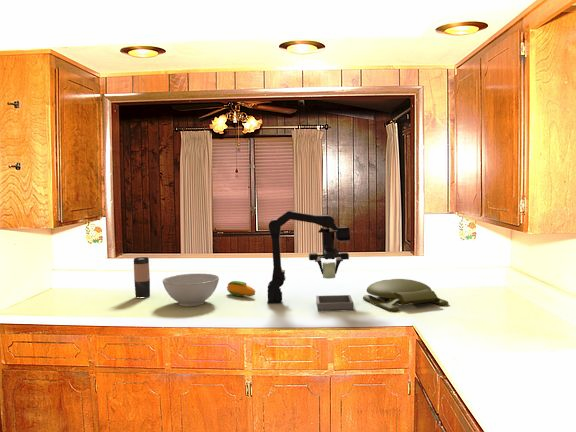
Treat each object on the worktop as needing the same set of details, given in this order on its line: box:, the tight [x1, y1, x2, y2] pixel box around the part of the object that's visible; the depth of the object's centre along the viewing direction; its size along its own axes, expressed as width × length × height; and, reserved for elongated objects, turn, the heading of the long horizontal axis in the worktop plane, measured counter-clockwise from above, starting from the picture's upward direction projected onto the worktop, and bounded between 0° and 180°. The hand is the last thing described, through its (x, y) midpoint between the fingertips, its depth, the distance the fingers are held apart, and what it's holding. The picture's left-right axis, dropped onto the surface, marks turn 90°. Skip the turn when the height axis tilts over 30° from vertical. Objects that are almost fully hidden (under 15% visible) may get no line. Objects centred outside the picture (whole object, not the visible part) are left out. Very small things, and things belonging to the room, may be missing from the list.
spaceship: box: [362, 278, 449, 313], centre depth 273 cm, size 35×31×10 cm
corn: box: [226, 280, 256, 298], centre depth 292 cm, size 7×8×20 cm
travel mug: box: [133, 256, 151, 298], centre depth 295 cm, size 8×8×20 cm
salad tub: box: [322, 261, 336, 279], centre depth 276 cm, size 6×6×7 cm
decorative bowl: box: [162, 273, 220, 307], centre depth 279 cm, size 27×27×12 cm
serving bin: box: [315, 294, 355, 312], centre depth 265 cm, size 16×16×4 cm
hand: (329, 274), depth 276 cm, fingers closed on salad tub, 6 cm apart
